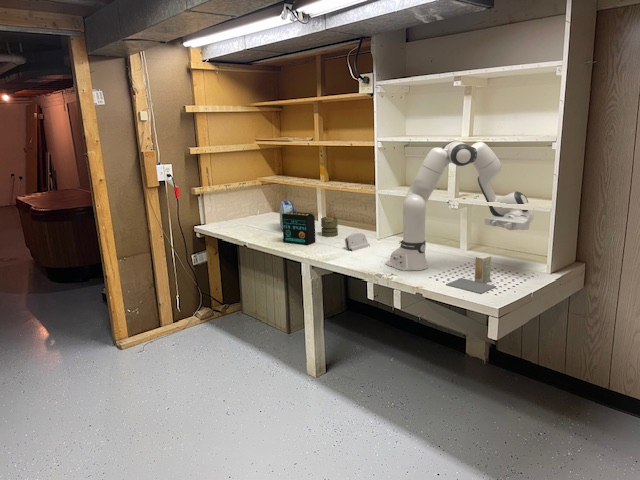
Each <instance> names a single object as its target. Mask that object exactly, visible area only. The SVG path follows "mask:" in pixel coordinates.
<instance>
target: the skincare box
mask: <svg viewBox="0 0 640 480" xmlns="http://www.w3.org/2000/svg"><path fill="white" fill-rule="evenodd" d="M474 260H475V261H474V263H475V264H474V265H475V266H474V281H476V282H481V283H487V282H490V281H491V271H492V270H491V266H492V256H491V255H488V254H481V255H478V256H477V255H476V256H475V259H474Z"/></svg>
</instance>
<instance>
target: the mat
mask: <svg viewBox="0 0 640 480" xmlns="http://www.w3.org/2000/svg"><path fill="white" fill-rule="evenodd" d="M445 286H448V287H452V288H456V289H460V290H464V291H468V292H471V293H476V294H479V295H482V294H484V293H485V294H486V293H487V292H488V291H491V290H493V289H495V288H497V285H492V284H488V283H486V282H484V283H481V282H476V281H475V280H471V279H467V278H462V277H460V278H458V279H455V280H453V281H450V282H448V283H446V284H445Z"/></svg>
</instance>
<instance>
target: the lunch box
mask: <svg viewBox="0 0 640 480" xmlns="http://www.w3.org/2000/svg"><path fill="white" fill-rule="evenodd" d="M290 211H293V212H297V210H296V207H295V205H294V204H293V202H292V201H291V200H283V201H280V203H279V227H280V228H281V230H282V231H283V221H282V214H284V213H285V214H286V213H287V212H290Z"/></svg>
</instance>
